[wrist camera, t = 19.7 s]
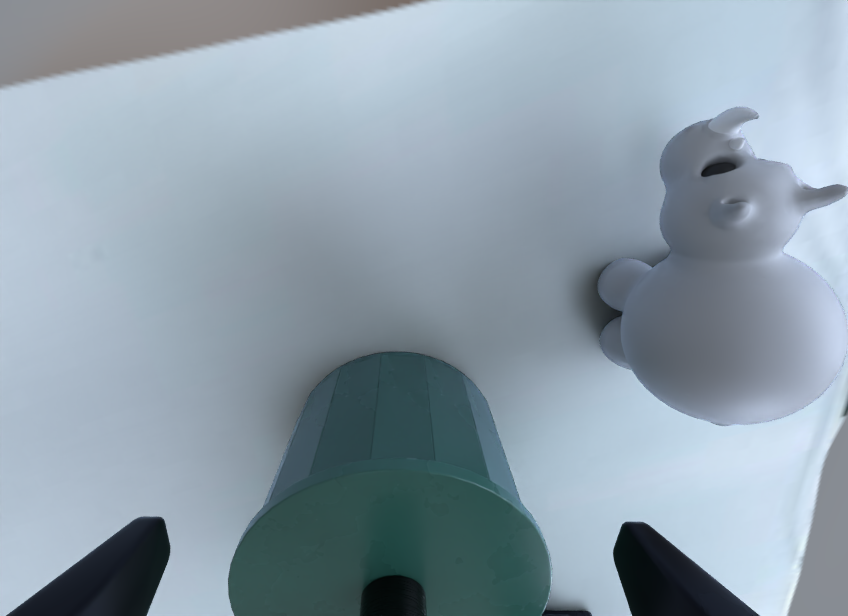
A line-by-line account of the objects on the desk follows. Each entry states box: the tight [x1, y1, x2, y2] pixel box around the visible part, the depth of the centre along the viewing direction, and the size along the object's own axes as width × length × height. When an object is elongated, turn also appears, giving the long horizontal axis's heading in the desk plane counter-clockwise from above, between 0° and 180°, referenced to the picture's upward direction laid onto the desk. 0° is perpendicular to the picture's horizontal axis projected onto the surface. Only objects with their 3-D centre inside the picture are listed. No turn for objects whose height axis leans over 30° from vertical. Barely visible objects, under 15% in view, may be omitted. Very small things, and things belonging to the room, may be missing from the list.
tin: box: [263, 352, 521, 507], centre depth 20 cm, size 11×11×8 cm
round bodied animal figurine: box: [598, 107, 848, 426], centre depth 16 cm, size 7×12×8 cm, turn 9°
